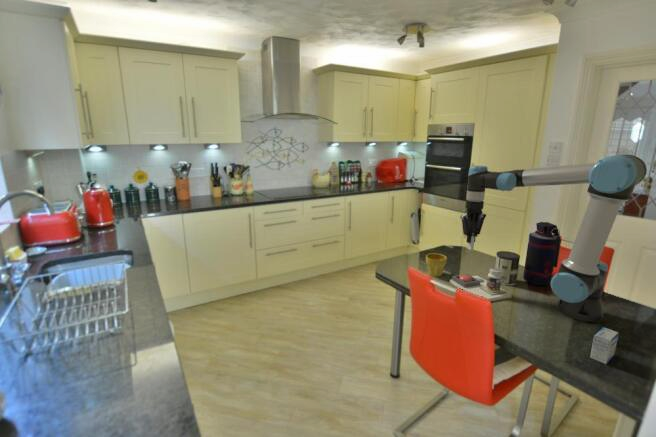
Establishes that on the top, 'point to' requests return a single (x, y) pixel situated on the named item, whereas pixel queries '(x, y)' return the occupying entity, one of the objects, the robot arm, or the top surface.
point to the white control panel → (479, 288)
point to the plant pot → (435, 264)
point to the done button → (466, 278)
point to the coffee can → (507, 266)
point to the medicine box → (604, 345)
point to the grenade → (542, 254)
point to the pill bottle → (494, 280)
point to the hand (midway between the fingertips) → (470, 249)
